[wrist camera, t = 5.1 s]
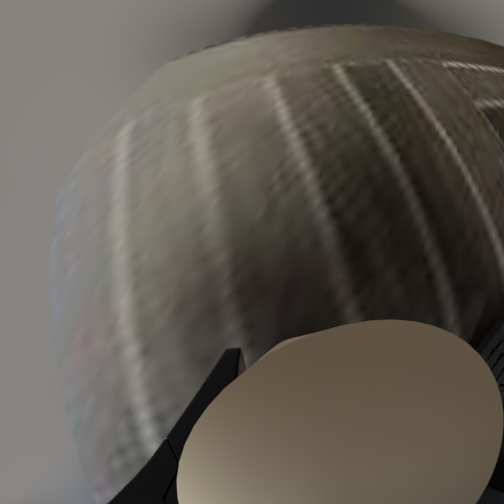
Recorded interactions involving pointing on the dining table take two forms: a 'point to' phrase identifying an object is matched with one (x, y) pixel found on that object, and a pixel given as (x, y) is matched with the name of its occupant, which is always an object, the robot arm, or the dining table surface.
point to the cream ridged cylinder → (350, 422)
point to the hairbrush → (495, 354)
